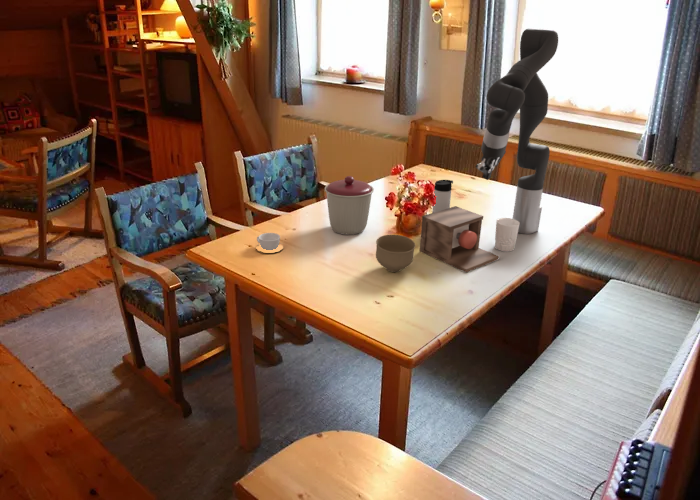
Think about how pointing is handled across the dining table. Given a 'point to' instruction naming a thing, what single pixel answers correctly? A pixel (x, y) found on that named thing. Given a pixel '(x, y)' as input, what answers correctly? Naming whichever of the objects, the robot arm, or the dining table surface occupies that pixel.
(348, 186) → the canister
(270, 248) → the teacup
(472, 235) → the drawer with red knob
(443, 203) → the travel mug
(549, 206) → the dining table surface
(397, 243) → the bowl
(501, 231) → the white cup
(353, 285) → the dining table surface
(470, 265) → the cabinet
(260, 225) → the dining table surface
